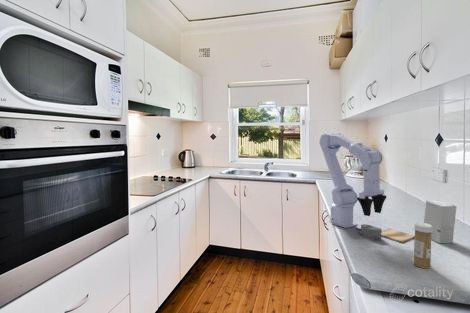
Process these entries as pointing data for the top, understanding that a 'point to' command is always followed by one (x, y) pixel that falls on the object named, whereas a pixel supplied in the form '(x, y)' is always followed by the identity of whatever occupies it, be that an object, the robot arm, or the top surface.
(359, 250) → the top surface
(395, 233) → the cork coaster
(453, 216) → the skincare box
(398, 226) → the top surface
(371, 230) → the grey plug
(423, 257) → the sprinkles bottle
